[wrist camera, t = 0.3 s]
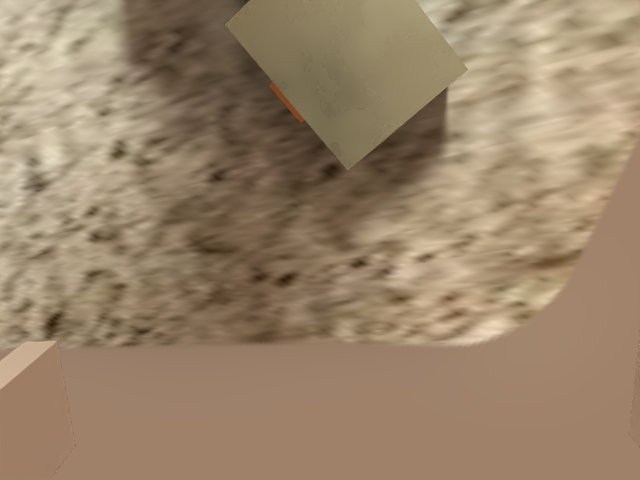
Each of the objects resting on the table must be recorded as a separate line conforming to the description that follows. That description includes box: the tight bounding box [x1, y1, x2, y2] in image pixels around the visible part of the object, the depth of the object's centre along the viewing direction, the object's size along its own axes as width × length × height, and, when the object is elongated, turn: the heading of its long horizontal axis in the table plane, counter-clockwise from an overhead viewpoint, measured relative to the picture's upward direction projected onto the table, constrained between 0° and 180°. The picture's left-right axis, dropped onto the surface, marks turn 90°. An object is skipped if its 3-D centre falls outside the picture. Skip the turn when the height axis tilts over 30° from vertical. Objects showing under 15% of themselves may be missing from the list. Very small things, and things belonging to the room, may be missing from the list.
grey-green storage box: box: [225, 0, 468, 171], centre depth 35 cm, size 11×9×6 cm
